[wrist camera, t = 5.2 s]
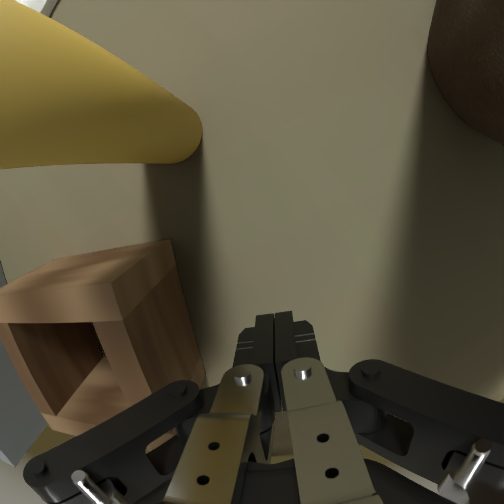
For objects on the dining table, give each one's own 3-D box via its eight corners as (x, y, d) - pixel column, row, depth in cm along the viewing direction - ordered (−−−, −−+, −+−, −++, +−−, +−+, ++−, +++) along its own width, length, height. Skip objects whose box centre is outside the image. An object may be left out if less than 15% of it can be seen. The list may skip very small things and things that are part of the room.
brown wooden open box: (170, 238, 14) (110, 282, 9) (205, 373, 16) (180, 452, 11) (53, 260, 15) (-16, 297, 9) (95, 372, 17) (51, 429, 11)
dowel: (197, 95, 12) (3, -53, 1) (206, 156, 13) (-36, 132, 2) (138, 112, 13) (-89, 54, 1) (147, 170, 14) (-101, 206, 2)
